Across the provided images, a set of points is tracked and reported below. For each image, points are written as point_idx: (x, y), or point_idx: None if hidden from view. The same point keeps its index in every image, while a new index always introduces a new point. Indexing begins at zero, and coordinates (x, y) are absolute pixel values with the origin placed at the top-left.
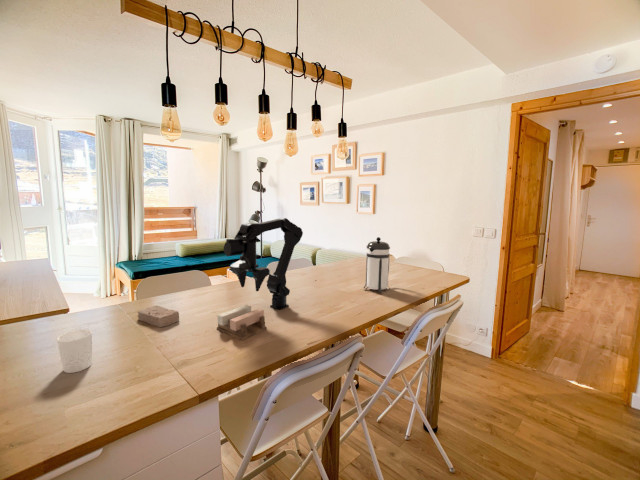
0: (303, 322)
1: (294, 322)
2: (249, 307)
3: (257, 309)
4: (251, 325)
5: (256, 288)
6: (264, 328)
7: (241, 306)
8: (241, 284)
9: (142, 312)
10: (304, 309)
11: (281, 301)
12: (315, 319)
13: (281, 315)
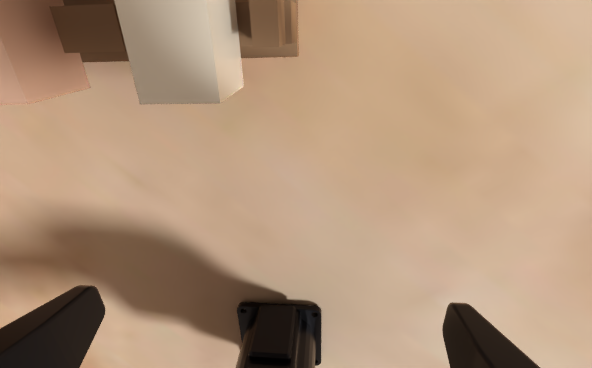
0: (17, 251)
1: (40, 228)
2: (137, 76)
3: (9, 79)
4: (105, 3)
5: (25, 319)
6: None
7: (206, 20)
8: (480, 344)
9: None
10: (160, 357)
11: (239, 357)
12: (23, 302)
13: (168, 256)
